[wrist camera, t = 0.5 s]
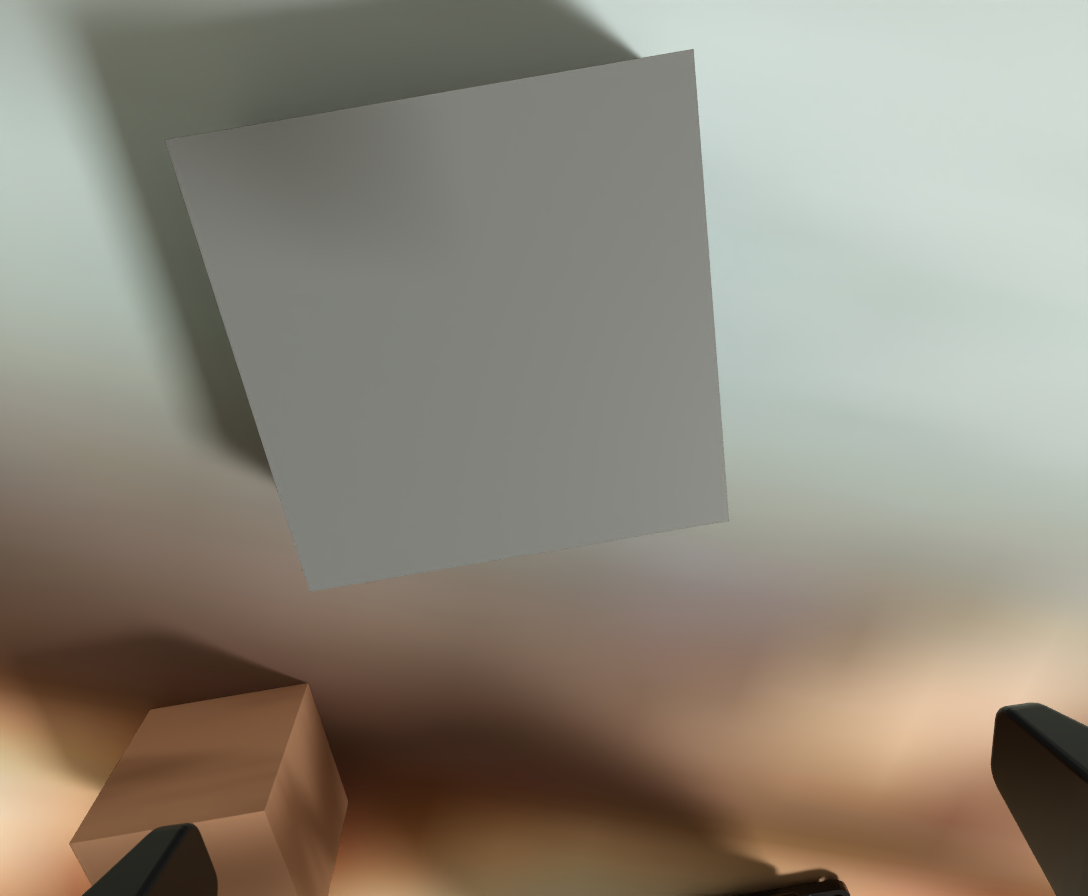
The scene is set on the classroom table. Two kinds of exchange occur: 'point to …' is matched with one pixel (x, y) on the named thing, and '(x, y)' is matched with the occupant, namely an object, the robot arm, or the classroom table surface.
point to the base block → (472, 316)
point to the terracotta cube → (228, 792)
